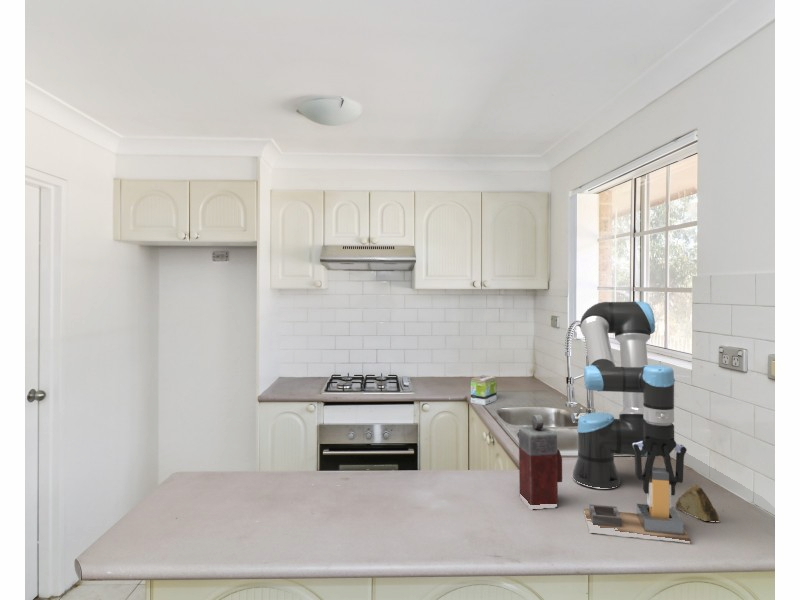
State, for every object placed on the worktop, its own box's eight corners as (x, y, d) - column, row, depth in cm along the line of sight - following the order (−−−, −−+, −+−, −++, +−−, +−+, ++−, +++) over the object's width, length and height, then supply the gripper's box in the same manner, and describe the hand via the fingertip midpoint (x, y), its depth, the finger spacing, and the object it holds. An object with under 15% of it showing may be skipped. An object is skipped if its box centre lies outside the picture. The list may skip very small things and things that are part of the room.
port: (636, 515, 138) (636, 503, 138) (672, 518, 136) (672, 506, 136) (644, 531, 129) (644, 518, 129) (683, 535, 127) (683, 522, 127)
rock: (664, 500, 146) (682, 510, 136) (679, 476, 147) (698, 485, 137) (694, 521, 145) (715, 534, 136) (709, 498, 146) (731, 509, 136)
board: (583, 513, 143) (583, 500, 143) (676, 522, 137) (676, 508, 137) (589, 533, 132) (589, 519, 132) (690, 544, 125) (690, 529, 125)
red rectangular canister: (565, 507, 148) (564, 417, 147) (530, 510, 146) (529, 419, 145) (551, 494, 156) (550, 410, 156) (519, 497, 155) (518, 412, 154)
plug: (649, 515, 135) (649, 466, 135) (664, 517, 134) (664, 468, 134) (653, 522, 131) (652, 472, 131) (669, 524, 130) (668, 473, 130)
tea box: (485, 405, 275) (485, 380, 274) (470, 403, 281) (469, 378, 280) (497, 400, 287) (496, 376, 286) (482, 398, 293) (481, 374, 292)
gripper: (628, 424, 130) (628, 508, 131) (697, 427, 126) (698, 514, 127) (622, 416, 138) (622, 496, 138) (688, 419, 133) (688, 502, 134)
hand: (658, 505), depth 133 cm, fingers closed on plug, 4 cm apart
